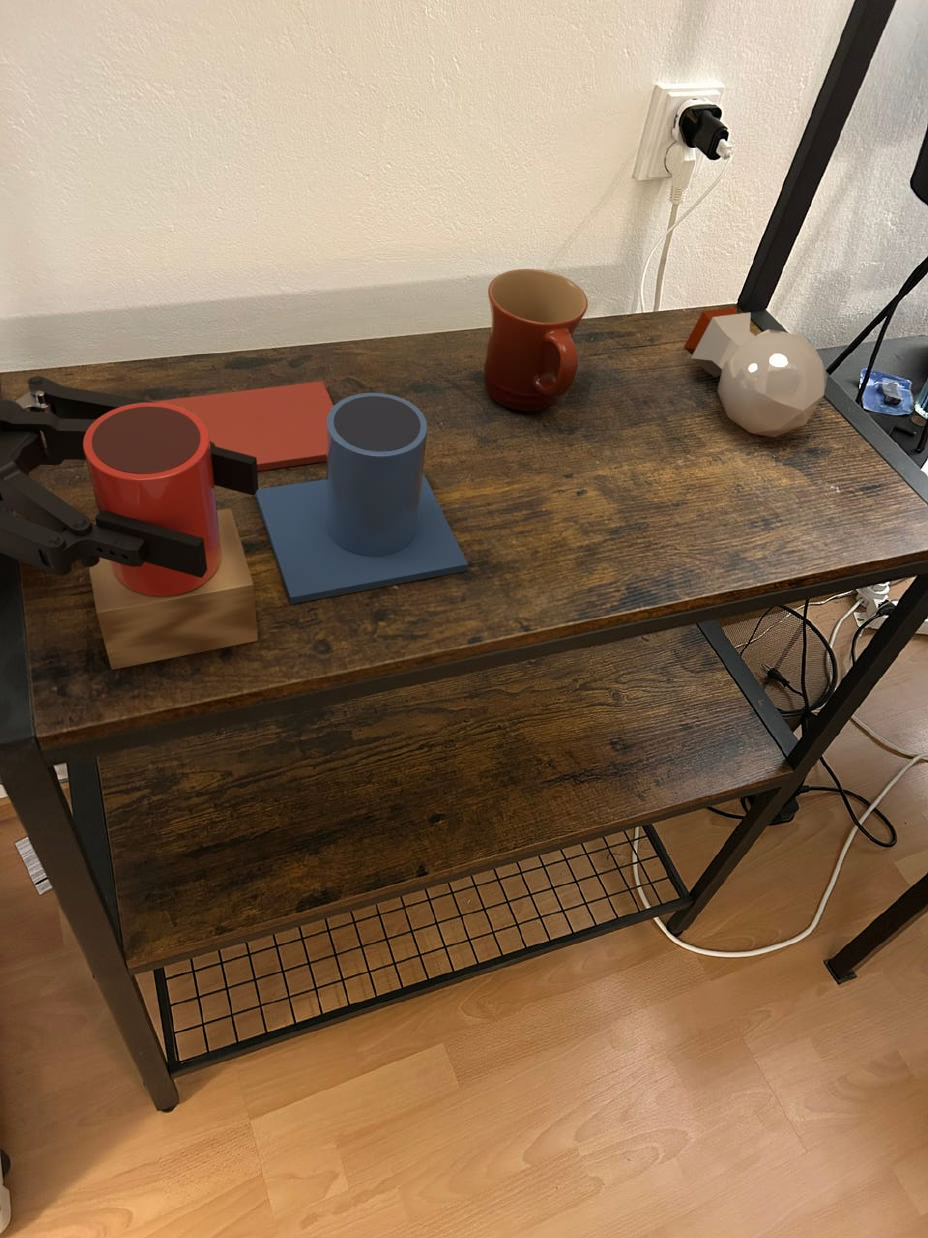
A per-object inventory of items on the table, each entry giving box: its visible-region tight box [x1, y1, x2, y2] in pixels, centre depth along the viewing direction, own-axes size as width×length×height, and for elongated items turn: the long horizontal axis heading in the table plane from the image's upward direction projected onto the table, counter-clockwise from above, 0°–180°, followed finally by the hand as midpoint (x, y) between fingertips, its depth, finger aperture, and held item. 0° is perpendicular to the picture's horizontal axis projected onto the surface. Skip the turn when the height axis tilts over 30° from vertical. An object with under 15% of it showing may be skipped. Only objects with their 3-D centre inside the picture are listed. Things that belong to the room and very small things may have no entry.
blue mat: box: [254, 472, 469, 605], centre depth 77 cm, size 14×12×1 cm
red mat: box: [153, 380, 335, 472], centre depth 83 cm, size 20×10×1 cm, turn 110°
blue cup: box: [325, 392, 428, 556], centre depth 73 cm, size 7×7×10 cm
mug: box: [483, 268, 589, 412], centre depth 87 cm, size 12×9×10 cm
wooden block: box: [88, 508, 259, 671], centre depth 67 cm, size 10×8×6 cm
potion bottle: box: [683, 306, 829, 438], centre depth 91 cm, size 9×10×15 cm
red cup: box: [83, 403, 222, 596], centre depth 61 cm, size 7×7×10 cm
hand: (229, 515), depth 61 cm, fingers closed on red cup, 7 cm apart
